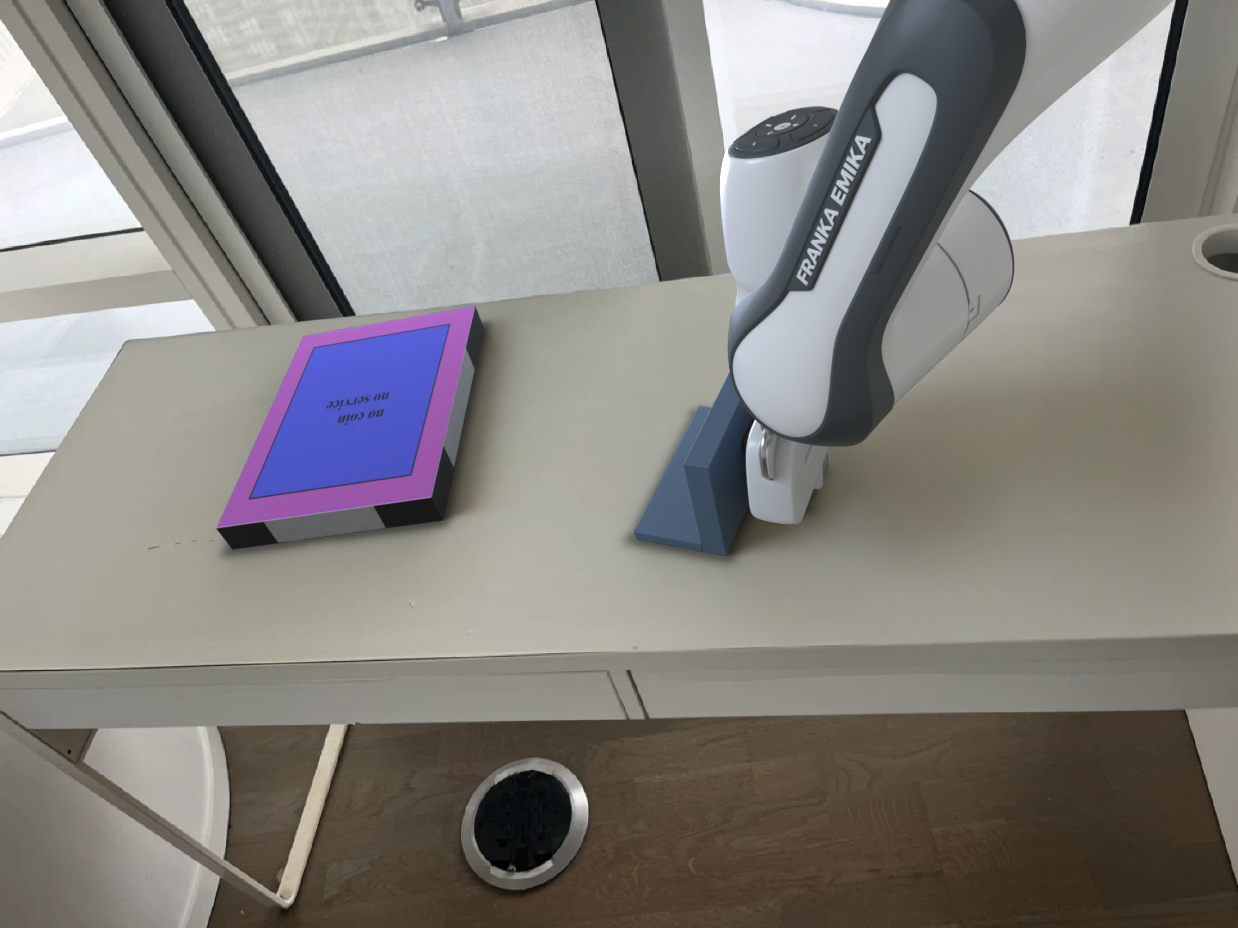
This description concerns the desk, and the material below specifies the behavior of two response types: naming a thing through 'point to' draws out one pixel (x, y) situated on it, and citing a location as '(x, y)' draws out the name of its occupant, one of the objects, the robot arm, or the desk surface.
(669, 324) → the desk surface
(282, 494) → the book
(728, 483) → the bookend
